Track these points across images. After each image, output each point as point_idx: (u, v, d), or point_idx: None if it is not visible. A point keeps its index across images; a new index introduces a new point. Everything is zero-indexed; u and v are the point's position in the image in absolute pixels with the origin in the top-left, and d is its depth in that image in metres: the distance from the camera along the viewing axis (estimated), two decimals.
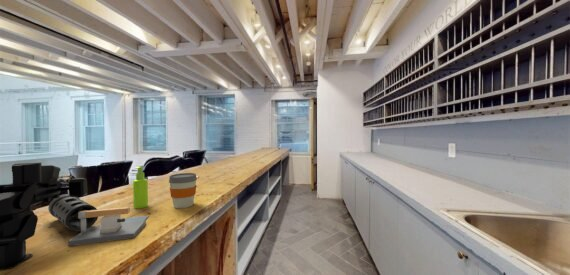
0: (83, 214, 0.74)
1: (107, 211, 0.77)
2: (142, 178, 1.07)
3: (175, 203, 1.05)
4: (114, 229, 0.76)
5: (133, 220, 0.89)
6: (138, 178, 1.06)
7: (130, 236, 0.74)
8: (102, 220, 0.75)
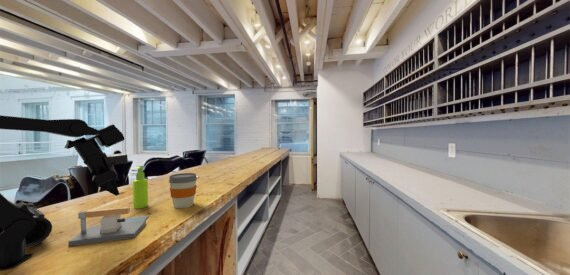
0: (83, 214, 0.74)
1: (107, 211, 0.77)
2: (142, 178, 1.07)
3: (175, 203, 1.05)
4: (114, 229, 0.76)
5: (133, 220, 0.89)
6: (138, 178, 1.06)
7: (130, 236, 0.74)
8: (102, 220, 0.75)
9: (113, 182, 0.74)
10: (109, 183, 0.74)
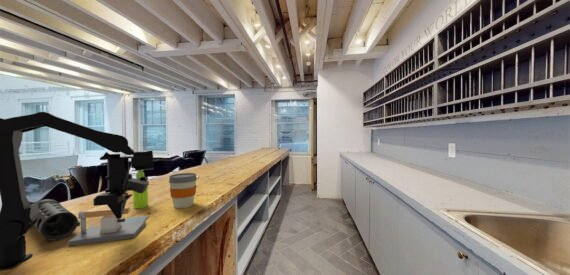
0: (83, 214, 0.74)
1: (107, 211, 0.77)
2: None
3: (175, 203, 1.05)
4: (114, 229, 0.76)
5: (133, 220, 0.89)
6: (138, 178, 1.06)
7: (130, 236, 0.74)
8: (102, 220, 0.75)
9: (120, 204, 0.72)
10: (116, 203, 0.73)
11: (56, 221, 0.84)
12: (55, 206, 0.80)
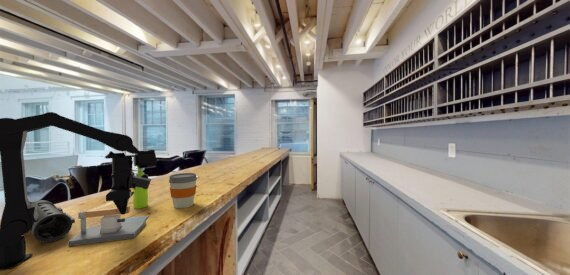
0: (83, 214, 0.74)
1: (108, 211, 0.77)
2: None
3: (175, 203, 1.05)
4: (114, 229, 0.76)
5: (133, 220, 0.89)
6: None
7: (130, 236, 0.74)
8: (102, 220, 0.75)
9: (125, 200, 0.76)
10: (122, 200, 0.76)
11: (53, 220, 0.83)
12: (43, 209, 0.78)
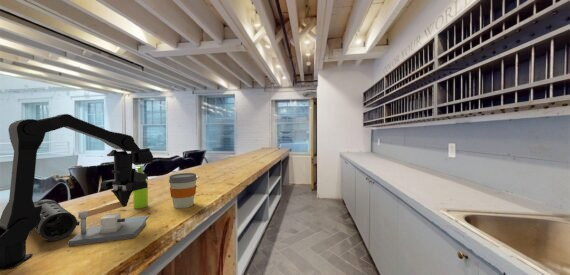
0: (86, 213, 0.75)
1: (108, 206, 0.82)
2: None
3: (175, 203, 1.05)
4: (114, 229, 0.76)
5: (133, 220, 0.89)
6: None
7: (130, 236, 0.74)
8: (102, 220, 0.75)
9: (129, 193, 0.86)
10: (126, 193, 0.85)
11: (56, 221, 0.84)
12: (53, 206, 0.80)
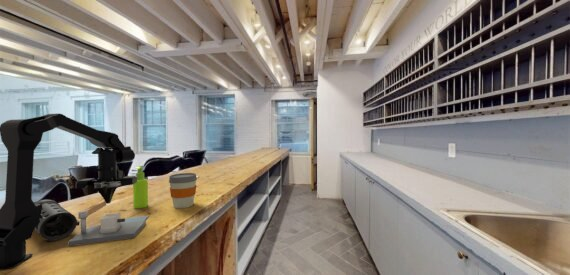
0: (87, 212, 0.76)
1: (97, 206, 0.82)
2: (142, 178, 1.07)
3: (175, 203, 1.05)
4: (114, 229, 0.76)
5: (133, 220, 0.89)
6: (138, 178, 1.06)
7: (130, 236, 0.74)
8: (102, 220, 0.75)
9: (114, 189, 0.89)
10: (112, 189, 0.88)
11: (56, 221, 0.84)
12: (53, 206, 0.80)
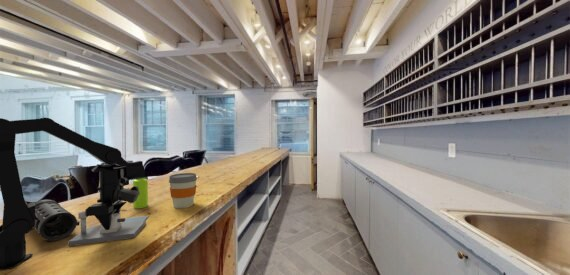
0: None
1: None
2: (142, 178, 1.07)
3: (175, 203, 1.05)
4: (114, 229, 0.76)
5: (133, 220, 0.89)
6: None
7: (130, 236, 0.74)
8: None
9: (108, 216, 0.74)
10: (105, 215, 0.74)
11: (56, 221, 0.84)
12: (53, 206, 0.80)
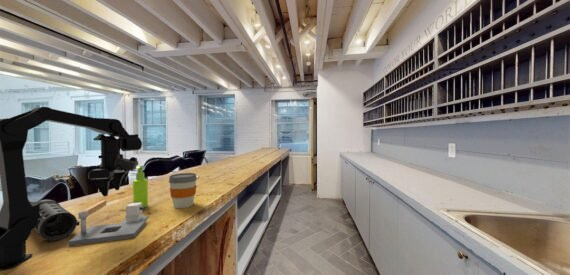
0: (87, 212, 0.76)
1: (97, 206, 0.82)
2: (142, 178, 1.07)
3: (175, 203, 1.05)
4: (137, 215, 0.87)
5: None
6: (138, 178, 1.06)
7: (130, 236, 0.74)
8: (127, 207, 0.86)
9: (106, 182, 0.78)
10: (103, 182, 0.78)
11: (56, 221, 0.84)
12: (53, 206, 0.80)
